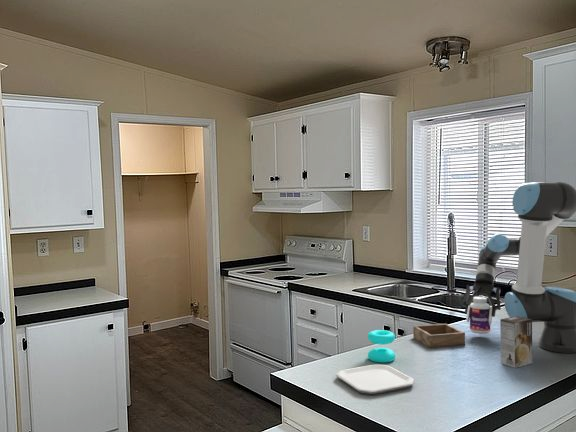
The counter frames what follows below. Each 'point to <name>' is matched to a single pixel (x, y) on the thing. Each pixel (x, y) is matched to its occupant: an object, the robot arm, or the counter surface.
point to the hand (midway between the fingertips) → (478, 321)
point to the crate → (439, 335)
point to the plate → (375, 379)
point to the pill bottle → (479, 315)
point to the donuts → (381, 353)
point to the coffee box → (516, 341)
